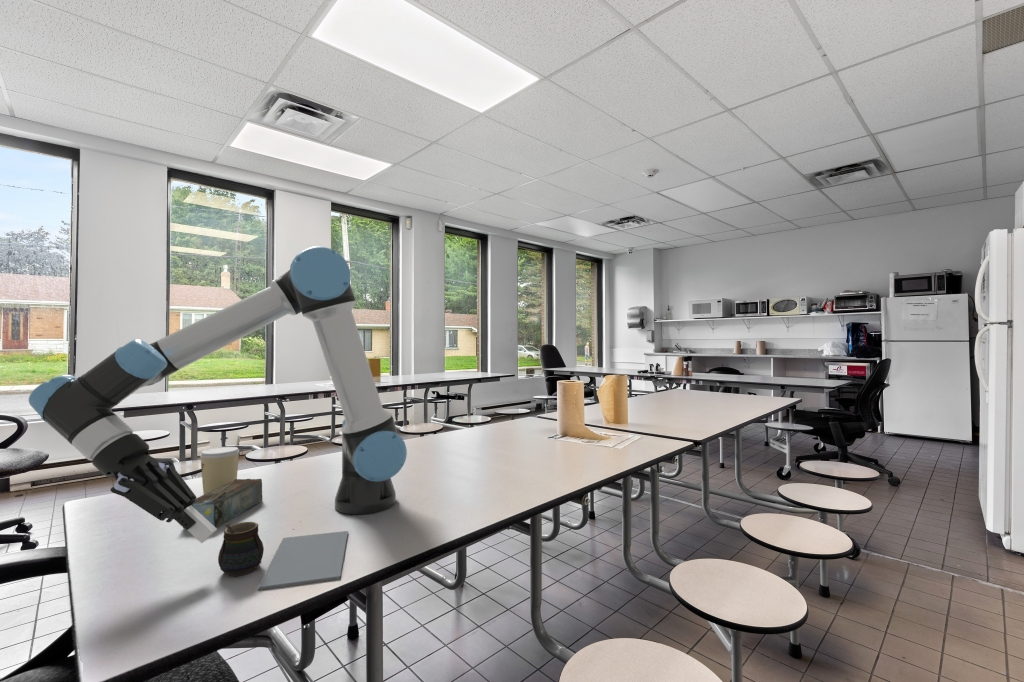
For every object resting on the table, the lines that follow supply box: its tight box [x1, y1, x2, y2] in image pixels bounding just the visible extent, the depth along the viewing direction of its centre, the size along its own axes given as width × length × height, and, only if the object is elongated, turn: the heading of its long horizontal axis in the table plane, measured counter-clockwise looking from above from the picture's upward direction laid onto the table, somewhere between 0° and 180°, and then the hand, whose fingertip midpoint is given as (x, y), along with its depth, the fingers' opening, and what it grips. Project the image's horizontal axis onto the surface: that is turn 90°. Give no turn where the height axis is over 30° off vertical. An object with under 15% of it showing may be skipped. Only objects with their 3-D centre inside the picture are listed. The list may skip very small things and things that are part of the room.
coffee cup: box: [199, 446, 240, 495], centre depth 128 cm, size 9×9×12 cm
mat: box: [257, 530, 349, 591], centre depth 88 cm, size 13×20×1 cm, turn 16°
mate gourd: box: [217, 521, 265, 577], centre depth 84 cm, size 7×8×10 cm
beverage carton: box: [192, 478, 263, 529], centre depth 112 cm, size 8×19×7 cm, turn 178°
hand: (209, 536), depth 83 cm, fingers closed
